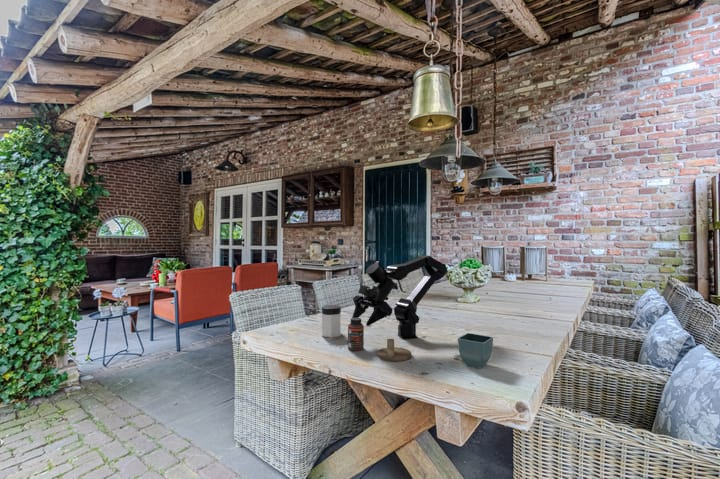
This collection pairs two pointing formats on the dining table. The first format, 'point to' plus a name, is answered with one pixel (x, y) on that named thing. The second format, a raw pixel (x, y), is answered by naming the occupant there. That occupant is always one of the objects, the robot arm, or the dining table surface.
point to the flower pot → (475, 349)
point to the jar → (331, 321)
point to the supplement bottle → (355, 335)
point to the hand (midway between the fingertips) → (359, 322)
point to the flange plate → (397, 354)
